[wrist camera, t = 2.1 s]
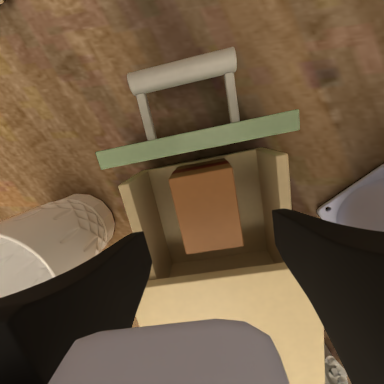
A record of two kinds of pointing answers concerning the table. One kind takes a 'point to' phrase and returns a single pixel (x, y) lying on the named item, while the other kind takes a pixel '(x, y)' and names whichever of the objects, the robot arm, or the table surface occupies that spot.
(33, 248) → the white cup
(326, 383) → the egg carton
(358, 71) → the table surface
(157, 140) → the drawer
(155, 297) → the shallow tan box
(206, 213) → the packet
